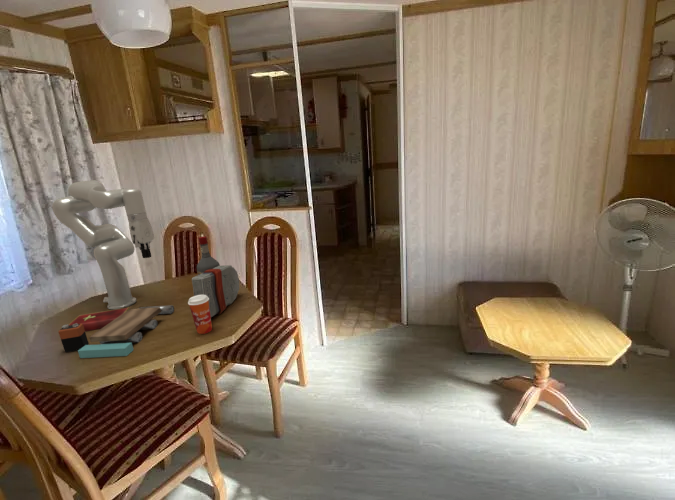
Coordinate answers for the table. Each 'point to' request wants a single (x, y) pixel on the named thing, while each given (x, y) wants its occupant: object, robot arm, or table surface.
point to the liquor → (205, 257)
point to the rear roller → (163, 309)
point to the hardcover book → (98, 319)
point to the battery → (73, 337)
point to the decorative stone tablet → (217, 287)
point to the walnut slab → (125, 325)
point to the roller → (134, 338)
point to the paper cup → (201, 313)
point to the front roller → (150, 325)
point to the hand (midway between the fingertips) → (147, 257)
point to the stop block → (105, 350)
